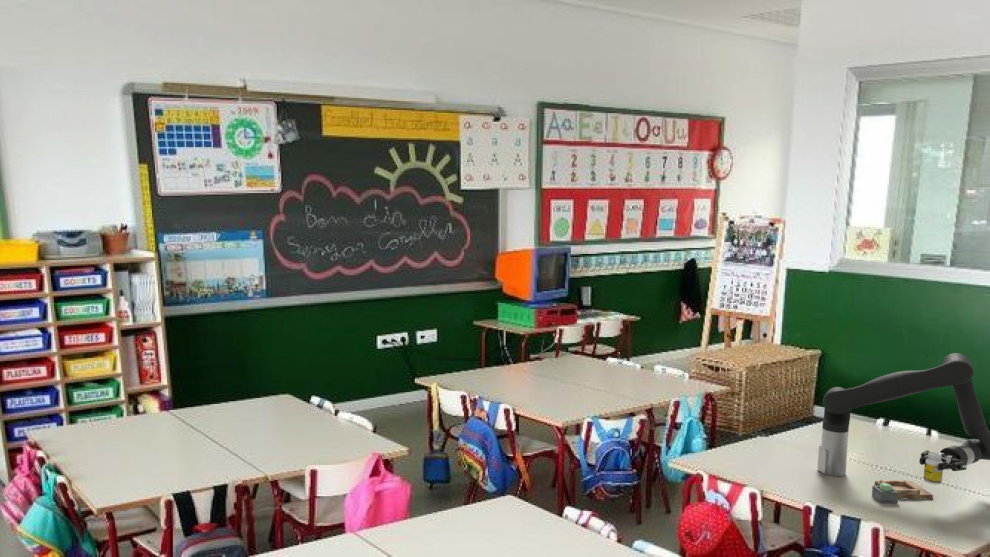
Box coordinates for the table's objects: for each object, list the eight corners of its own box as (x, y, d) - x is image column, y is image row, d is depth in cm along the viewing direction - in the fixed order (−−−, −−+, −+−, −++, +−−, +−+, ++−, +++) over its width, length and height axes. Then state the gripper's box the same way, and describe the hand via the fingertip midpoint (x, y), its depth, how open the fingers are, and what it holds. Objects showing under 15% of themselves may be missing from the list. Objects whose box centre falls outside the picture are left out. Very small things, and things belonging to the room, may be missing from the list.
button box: (880, 503, 259) (881, 492, 259) (871, 496, 265) (872, 485, 265) (897, 503, 259) (898, 492, 259) (888, 496, 265) (889, 485, 265)
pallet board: (893, 498, 264) (894, 490, 263) (874, 484, 276) (875, 476, 276) (932, 499, 264) (933, 490, 263) (912, 485, 277) (912, 477, 276)
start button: (882, 495, 260) (883, 486, 260) (877, 491, 264) (877, 483, 263) (892, 495, 260) (893, 486, 260) (887, 491, 264) (888, 483, 263)
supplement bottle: (920, 478, 255) (922, 450, 254) (936, 478, 255) (938, 451, 254) (928, 484, 250) (931, 456, 249) (945, 485, 250) (947, 457, 248)
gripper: (977, 473, 253) (950, 482, 245) (935, 460, 265) (907, 468, 257) (980, 452, 252) (952, 460, 244) (937, 440, 265) (909, 447, 256)
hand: (929, 464), depth 250 cm, fingers closed on supplement bottle, 5 cm apart
